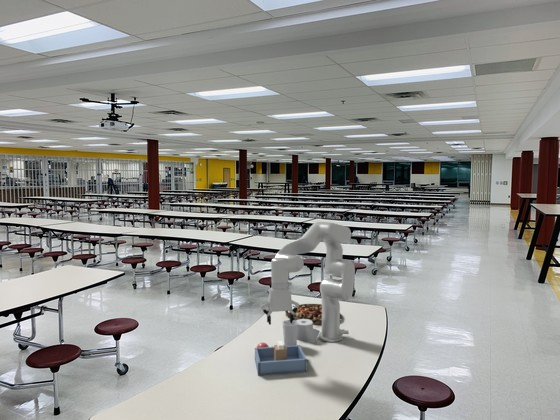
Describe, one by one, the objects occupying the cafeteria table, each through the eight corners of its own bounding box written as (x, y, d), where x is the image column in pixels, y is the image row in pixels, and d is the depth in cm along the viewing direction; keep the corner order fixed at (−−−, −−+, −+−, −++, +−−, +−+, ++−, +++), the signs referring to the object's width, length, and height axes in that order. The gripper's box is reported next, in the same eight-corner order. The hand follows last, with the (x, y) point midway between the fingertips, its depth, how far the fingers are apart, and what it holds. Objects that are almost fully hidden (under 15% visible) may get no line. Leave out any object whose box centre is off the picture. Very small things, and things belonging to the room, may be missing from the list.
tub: (299, 356, 184) (299, 345, 184) (306, 371, 169) (306, 359, 169) (254, 359, 181) (254, 348, 181) (258, 375, 166) (258, 363, 166)
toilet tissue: (319, 342, 201) (319, 326, 200) (293, 340, 203) (293, 324, 202) (320, 335, 209) (320, 320, 209) (296, 333, 212) (296, 318, 211)
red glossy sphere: (268, 352, 189) (268, 340, 188) (269, 357, 183) (269, 345, 182) (255, 353, 188) (255, 340, 187) (257, 358, 182) (257, 346, 182)
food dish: (278, 325, 228) (278, 312, 228) (293, 308, 260) (292, 297, 260) (338, 329, 218) (338, 315, 218) (345, 311, 250) (345, 299, 250)
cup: (296, 349, 191) (297, 326, 191) (281, 348, 193) (281, 324, 192) (299, 343, 199) (299, 320, 198) (284, 342, 201) (284, 319, 200)
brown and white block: (286, 365, 173) (286, 345, 172) (275, 366, 172) (275, 345, 172) (285, 360, 178) (285, 340, 177) (274, 361, 177) (274, 341, 177)
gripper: (297, 282, 178) (297, 318, 179) (259, 284, 175) (260, 321, 176) (300, 286, 170) (301, 324, 172) (261, 288, 167) (262, 327, 169)
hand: (280, 323), depth 174 cm, fingers open, 9 cm apart
